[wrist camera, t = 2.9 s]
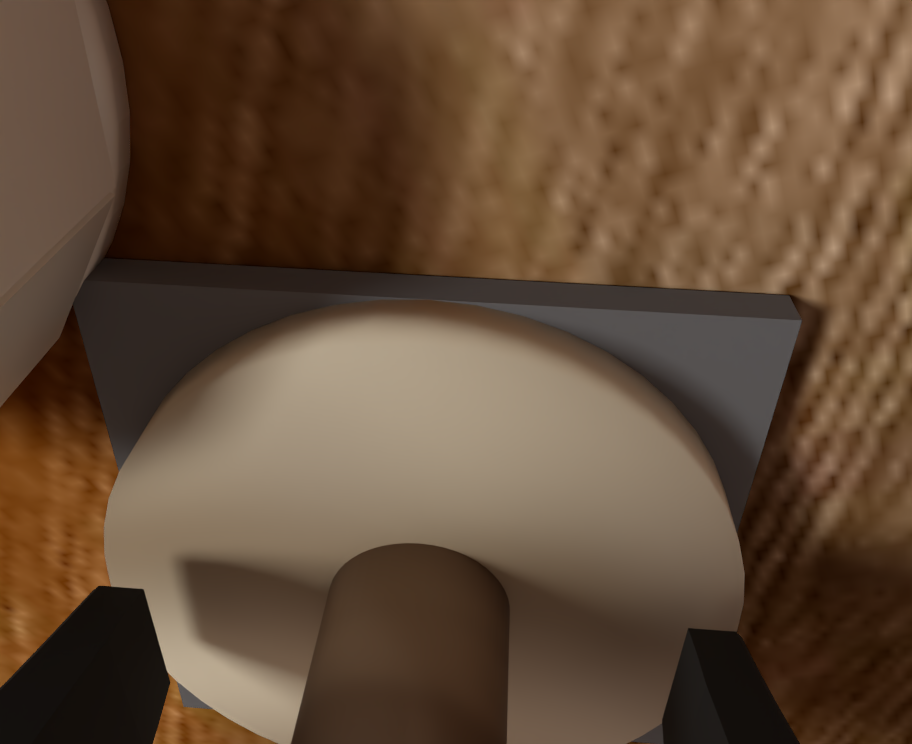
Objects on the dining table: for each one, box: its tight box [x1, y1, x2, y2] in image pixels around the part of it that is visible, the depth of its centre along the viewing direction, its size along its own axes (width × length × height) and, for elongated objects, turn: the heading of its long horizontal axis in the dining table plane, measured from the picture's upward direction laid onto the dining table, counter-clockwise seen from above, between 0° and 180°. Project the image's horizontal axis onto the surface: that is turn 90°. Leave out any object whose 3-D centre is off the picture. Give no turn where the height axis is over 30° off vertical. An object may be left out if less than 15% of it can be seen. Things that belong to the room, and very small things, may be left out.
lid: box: [104, 299, 745, 744], centre depth 11 cm, size 9×9×5 cm
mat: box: [73, 258, 802, 744], centre depth 13 cm, size 9×9×1 cm
